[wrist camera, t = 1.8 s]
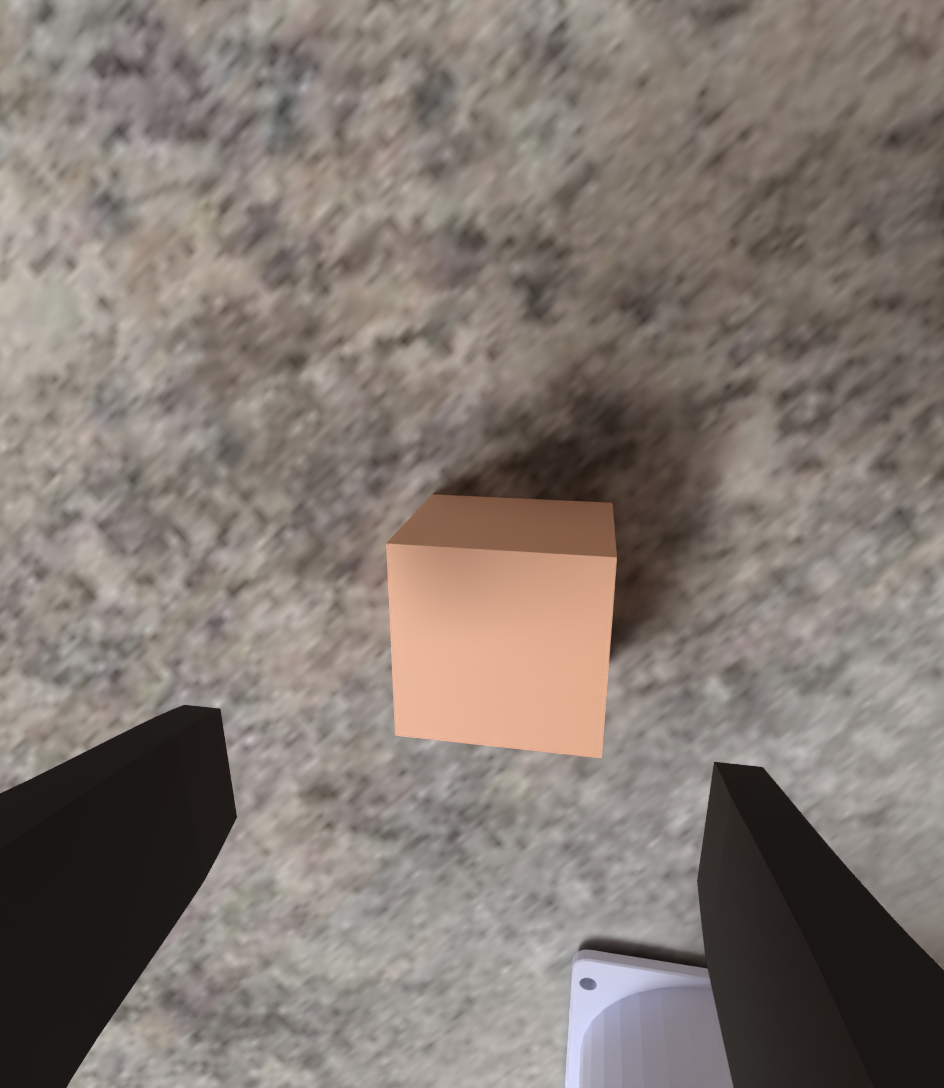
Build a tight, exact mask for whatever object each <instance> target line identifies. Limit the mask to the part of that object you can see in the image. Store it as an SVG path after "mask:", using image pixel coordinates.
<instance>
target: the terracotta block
mask: <svg viewBox="0 0 944 1088" xmlns="http://www.w3.org/2000/svg"><path fill="white" fill-rule="evenodd" d="M386 547H387V569H388V590H389V612H390V633H391V655H392V676H393V698H394V719H395V735H396V736H405V737H414V738H423V739H432V740H441V741H450V742H460V743H469V744H478V745H487V746H496V747H505V748H514V749H523V750H532V751H541V752H550V753H559V754H568V755H577V756H586V757H595V758H602V747H603V734H604V721H605V708H606V694H607V681H608V668H609V655H610V642H611V629H612V616H613V603H614V589H615V576H616V563H617V552H616V539H615V527H614V515H613V503H607V502H585V501H564V500H542V499H521V498H499V497H478V496H456V495H435V494H432V495H431V496H430V497H429V498H428V499H427V501H426V502H425V503H424V504H423V505H422V506H421V507H420V508H419V509H418V510H417V511H416V512H415V513H414V515H413V516H412V517H411V518H410V519H409V520H408V521H407V522H406V523H405V524H404V525H403V526H402V527H401V528H400V530H399V531H398V532H397V533H396V534H395V535H394V536H393V537H392V538H391V539H390V540H389V541H388V542H387V543H386Z"/></svg>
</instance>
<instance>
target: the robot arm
mask: <svg viewBox="0 0 944 1088" xmlns="http://www.w3.org/2000/svg"><path fill="white" fill-rule="evenodd" d="M236 818H237V815H236V808H235V801H234V795H233V788H232V782H231V775H230V769H229V762H228V756H227V749H226V743H225V736H224V730H223V723H222V717H221V710H220V709H218V708H209V707H199V706H190V705H183V706H180V707H178V708H175V709H173V710H170V711H168V712H166V713H163V714H161V715H159V716H157V717H155V718H153V719H150V720H148V721H146V722H144V723H142V724H140V725H138V726H136V727H134V728H132V729H130V730H128V731H126V732H124V733H122V734H120V735H118V736H116V737H114V738H112V739H110V740H108V741H106V742H104V743H102V744H100V745H98V746H96V747H94V748H92V749H90V750H88V751H86V752H84V753H82V754H80V755H78V756H76V757H74V758H72V759H70V760H68V761H66V762H64V763H62V764H60V765H58V766H56V767H54V768H52V769H50V770H48V771H46V772H44V773H42V774H40V775H38V776H36V777H34V778H32V779H30V780H28V781H26V782H24V783H22V784H19V785H17V786H15V787H13V788H11V789H9V790H7V791H5V792H2V793H0V1088H66V1087H67V1086H68V1084H69V1082H70V1080H71V1079H72V1077H73V1075H74V1074H75V1072H76V1071H77V1069H78V1068H79V1066H80V1064H81V1063H82V1061H83V1060H84V1058H85V1057H86V1055H87V1053H88V1052H89V1050H90V1049H91V1047H92V1046H93V1044H94V1043H95V1041H96V1039H97V1038H98V1036H99V1035H100V1033H101V1032H102V1030H103V1029H104V1028H105V1026H106V1025H107V1023H108V1022H109V1020H110V1019H111V1017H112V1016H113V1014H114V1013H115V1012H116V1010H117V1009H118V1007H119V1006H120V1004H121V1003H122V1001H123V1000H124V998H125V997H126V996H127V994H128V993H129V991H130V990H131V988H132V987H133V985H134V984H135V982H136V981H137V979H138V978H139V977H140V975H141V974H142V972H143V971H144V969H145V968H146V966H147V965H148V963H149V962H150V961H151V959H152V958H153V956H154V955H155V953H156V952H157V950H158V949H159V947H160V946H161V945H162V943H163V942H164V940H165V939H166V937H167V936H168V934H169V933H170V931H171V930H172V928H173V927H174V925H175V924H176V923H177V921H178V920H179V918H180V917H181V915H182V914H183V912H184V911H185V909H186V908H187V906H188V905H189V903H190V902H191V900H192V899H193V897H194V896H195V894H196V893H197V891H198V890H199V888H200V887H201V885H202V884H203V882H204V880H205V878H206V877H207V875H208V873H209V871H210V869H211V867H212V865H213V864H214V862H215V860H216V858H217V856H218V854H219V852H220V850H221V848H222V846H223V844H224V842H225V840H226V838H227V836H228V834H229V832H230V830H231V828H232V826H233V824H234V822H235V820H236ZM697 883H698V893H699V903H700V912H701V922H702V931H703V940H704V948H705V957H706V963H707V968H708V969H707V968H701V967H695V966H688V965H682V964H676V963H670V962H663V961H657V960H651V959H645V958H639V957H632V956H626V955H620V954H614V953H607V952H601V951H595V950H582V951H579V952H577V953H576V954H575V955H574V958H573V966H572V982H571V998H570V1013H569V1029H568V1045H567V1060H566V1076H565V1088H944V970H943V969H942V968H941V967H940V966H939V965H938V964H937V963H936V962H935V961H934V960H933V959H932V958H931V957H930V956H929V955H928V954H927V953H926V952H925V951H924V950H923V949H922V948H921V947H920V946H919V945H918V944H917V943H916V942H915V941H914V940H913V939H912V938H911V937H910V936H909V935H908V934H907V933H906V932H905V930H904V929H903V928H902V927H901V926H900V925H899V924H898V923H897V922H896V921H895V920H894V919H893V918H892V917H891V916H890V914H889V913H888V912H887V911H886V910H885V909H884V908H883V907H882V906H881V904H880V903H879V902H878V901H877V900H876V899H875V898H874V897H873V896H872V894H871V893H870V892H869V891H868V890H867V889H866V888H865V887H864V885H863V884H862V883H861V882H860V881H859V880H858V879H857V878H856V877H855V875H854V874H853V873H852V872H851V871H850V870H849V869H848V868H847V866H846V865H845V864H844V863H843V862H842V861H841V860H840V858H839V857H838V856H837V855H836V854H835V853H834V851H833V850H832V849H831V848H830V847H829V846H828V844H827V843H826V842H825V841H824V840H823V839H822V837H821V836H820V835H819V834H818V833H817V831H816V830H815V829H814V828H813V827H812V825H811V824H810V823H809V822H808V821H807V820H806V818H805V817H804V816H803V815H802V813H801V812H800V811H799V810H798V809H797V807H796V806H795V805H794V804H793V803H792V801H791V800H790V799H789V798H788V797H787V795H786V794H785V793H784V792H783V791H782V789H781V788H780V787H779V786H778V785H777V783H776V782H775V781H774V780H773V779H772V777H771V776H770V775H769V774H768V773H767V772H766V770H765V769H764V768H763V767H757V766H748V765H739V764H729V763H720V762H714V766H713V774H712V781H711V788H710V795H709V802H708V809H707V816H706V823H705V830H704V837H703V844H702V851H701V858H700V865H699V872H698V879H697Z"/></svg>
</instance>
